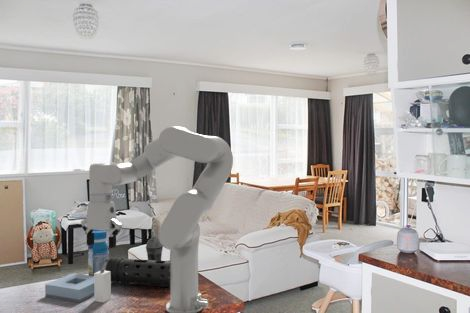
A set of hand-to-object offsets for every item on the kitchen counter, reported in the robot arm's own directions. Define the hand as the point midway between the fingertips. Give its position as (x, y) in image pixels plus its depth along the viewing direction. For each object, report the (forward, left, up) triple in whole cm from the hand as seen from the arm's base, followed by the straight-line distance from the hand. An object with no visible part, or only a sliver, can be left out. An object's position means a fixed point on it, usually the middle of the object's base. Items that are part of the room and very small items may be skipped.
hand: (101, 245), depth 147 cm
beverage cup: (-1, -32, -20) cm, 38 cm away
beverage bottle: (+17, -18, -20) cm, 31 cm away
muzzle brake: (-3, -18, -20) cm, 27 cm away
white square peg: (0, 0, -20) cm, 20 cm away
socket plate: (+14, -2, -19) cm, 24 cm away
